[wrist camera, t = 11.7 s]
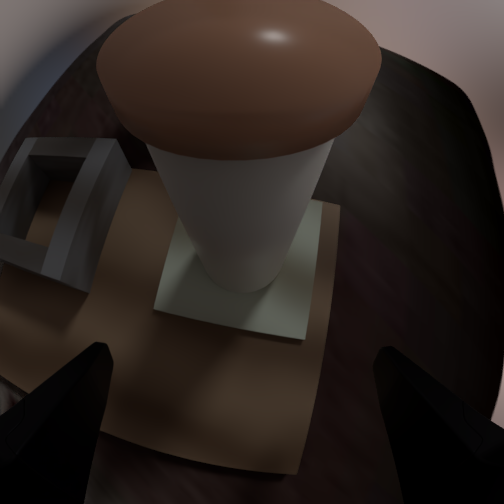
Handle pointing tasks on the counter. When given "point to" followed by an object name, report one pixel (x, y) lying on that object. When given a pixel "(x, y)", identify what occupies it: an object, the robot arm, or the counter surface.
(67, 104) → the counter surface
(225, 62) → the white cylinder brown top
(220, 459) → the board
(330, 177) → the counter surface
